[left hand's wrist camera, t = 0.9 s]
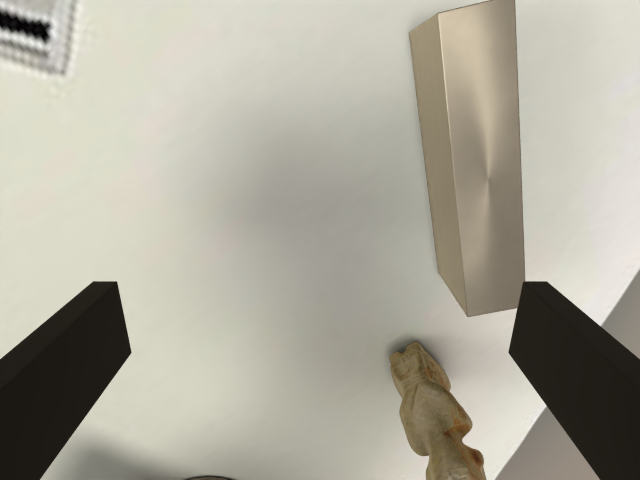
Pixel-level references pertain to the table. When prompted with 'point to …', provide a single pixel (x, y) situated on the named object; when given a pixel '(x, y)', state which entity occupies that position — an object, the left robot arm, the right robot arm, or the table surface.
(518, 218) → the bar
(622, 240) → the table surface
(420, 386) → the sculpture
